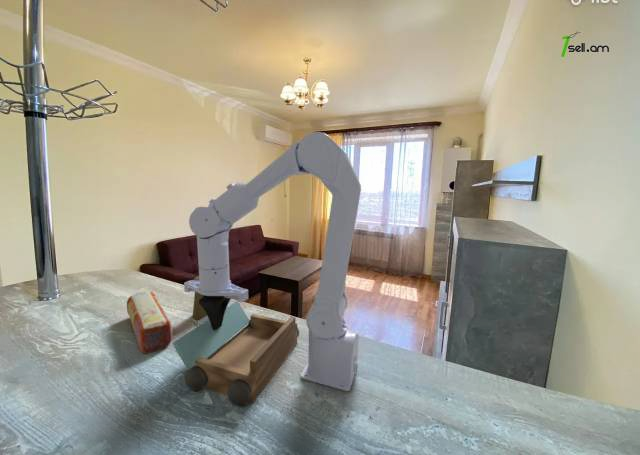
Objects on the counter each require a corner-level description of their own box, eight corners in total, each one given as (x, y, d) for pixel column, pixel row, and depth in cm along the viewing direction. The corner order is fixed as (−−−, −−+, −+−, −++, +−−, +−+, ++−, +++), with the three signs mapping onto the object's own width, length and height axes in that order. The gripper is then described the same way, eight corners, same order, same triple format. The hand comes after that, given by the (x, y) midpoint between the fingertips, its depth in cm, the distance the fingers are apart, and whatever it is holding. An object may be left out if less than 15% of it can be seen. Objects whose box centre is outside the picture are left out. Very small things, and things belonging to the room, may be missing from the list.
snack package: (174, 346, 59) (172, 317, 58) (139, 358, 55) (136, 328, 54) (156, 310, 75) (154, 288, 74) (127, 318, 70) (125, 294, 69)
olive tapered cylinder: (207, 321, 69) (205, 281, 67) (187, 318, 70) (185, 279, 68) (220, 311, 75) (219, 273, 73) (201, 308, 76) (199, 271, 74)
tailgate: (250, 321, 64) (235, 297, 64) (192, 370, 47) (172, 336, 48) (245, 324, 65) (230, 300, 65) (186, 373, 48) (167, 340, 48)
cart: (299, 340, 62) (299, 312, 60) (248, 409, 43) (247, 370, 41) (251, 329, 66) (250, 303, 65) (185, 388, 47) (182, 352, 46)
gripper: (256, 264, 55) (257, 324, 57) (200, 256, 60) (203, 313, 62) (234, 274, 48) (237, 342, 51) (174, 265, 53) (178, 328, 55)
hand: (217, 327), depth 56 cm, fingers closed, pressing on tailgate
